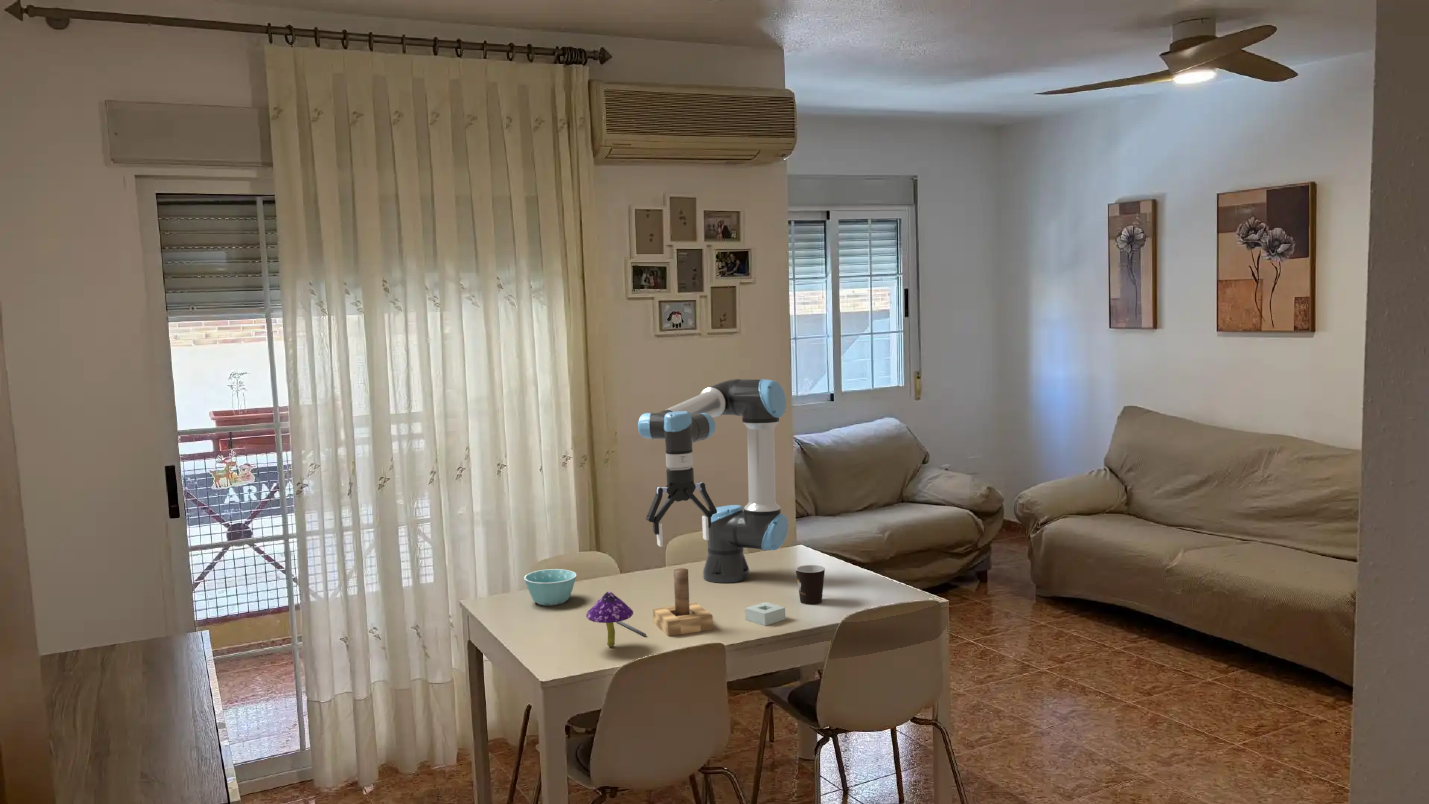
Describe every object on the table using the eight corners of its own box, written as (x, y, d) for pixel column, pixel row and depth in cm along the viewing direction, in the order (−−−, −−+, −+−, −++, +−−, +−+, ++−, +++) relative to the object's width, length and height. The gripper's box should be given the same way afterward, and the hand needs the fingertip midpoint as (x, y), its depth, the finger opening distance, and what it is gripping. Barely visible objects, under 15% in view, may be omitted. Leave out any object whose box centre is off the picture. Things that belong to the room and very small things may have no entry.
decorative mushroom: (579, 652, 279) (576, 596, 278) (600, 637, 291) (598, 583, 289) (622, 656, 275) (619, 600, 273) (642, 641, 287) (640, 586, 285)
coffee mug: (824, 606, 313) (823, 572, 312) (794, 605, 315) (793, 572, 314) (827, 595, 324) (827, 562, 323) (799, 594, 326) (798, 562, 325)
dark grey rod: (615, 622, 304) (615, 619, 304) (617, 621, 305) (617, 618, 304) (644, 637, 290) (644, 634, 290) (646, 636, 291) (646, 633, 290)
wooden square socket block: (653, 622, 302) (653, 609, 302) (696, 616, 307) (696, 602, 307) (668, 636, 290) (667, 621, 290) (712, 629, 295) (712, 615, 294)
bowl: (587, 597, 330) (586, 571, 330) (559, 611, 316) (557, 584, 315) (544, 592, 337) (543, 567, 336) (515, 606, 323) (514, 579, 322)
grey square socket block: (745, 619, 303) (745, 608, 302) (765, 613, 308) (765, 601, 307) (765, 625, 297) (764, 613, 296) (785, 619, 302) (785, 607, 301)
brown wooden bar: (673, 625, 300) (671, 569, 298) (687, 623, 301) (685, 567, 299) (678, 629, 296) (676, 572, 294) (692, 627, 297) (690, 571, 296)
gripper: (640, 474, 288) (644, 551, 290) (726, 465, 297) (729, 539, 299) (632, 470, 295) (636, 545, 297) (716, 461, 304) (719, 534, 306)
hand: (683, 542), depth 298 cm, fingers open, 13 cm apart
